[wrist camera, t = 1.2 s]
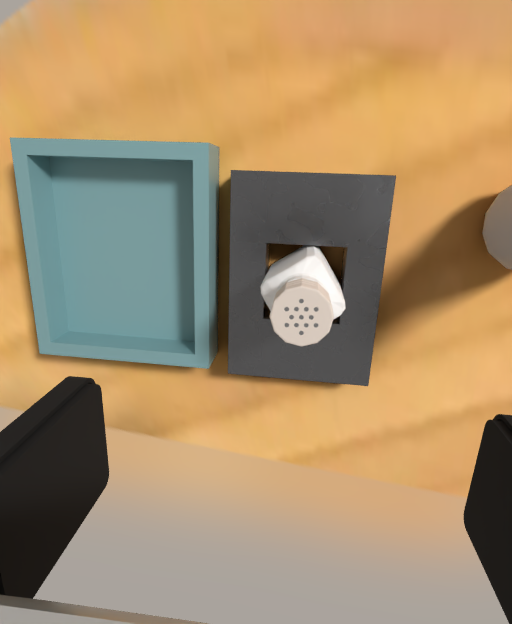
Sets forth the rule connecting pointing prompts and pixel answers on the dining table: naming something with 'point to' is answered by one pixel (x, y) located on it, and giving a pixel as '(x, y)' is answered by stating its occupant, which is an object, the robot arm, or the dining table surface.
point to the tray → (122, 247)
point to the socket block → (318, 232)
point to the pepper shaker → (302, 296)
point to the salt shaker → (500, 228)
